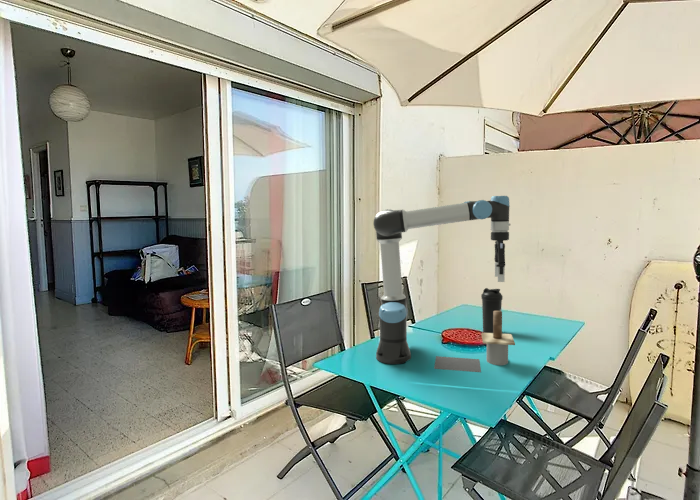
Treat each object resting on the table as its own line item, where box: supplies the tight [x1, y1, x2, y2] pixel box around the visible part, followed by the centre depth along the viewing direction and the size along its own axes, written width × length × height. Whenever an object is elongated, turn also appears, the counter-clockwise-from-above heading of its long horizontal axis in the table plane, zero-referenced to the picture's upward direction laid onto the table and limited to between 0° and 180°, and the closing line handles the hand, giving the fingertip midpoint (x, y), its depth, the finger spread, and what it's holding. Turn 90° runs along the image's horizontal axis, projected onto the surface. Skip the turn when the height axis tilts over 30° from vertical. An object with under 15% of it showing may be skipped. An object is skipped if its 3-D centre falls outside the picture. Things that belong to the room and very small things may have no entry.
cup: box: [486, 344, 509, 366], centre depth 165 cm, size 8×8×10 cm
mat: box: [433, 355, 482, 373], centre depth 164 cm, size 18×14×1 cm
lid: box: [481, 310, 516, 346], centre depth 164 cm, size 12×12×12 cm
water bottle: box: [481, 287, 504, 333], centre depth 205 cm, size 10×10×23 cm
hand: (499, 279), depth 176 cm, fingers open, 13 cm apart
